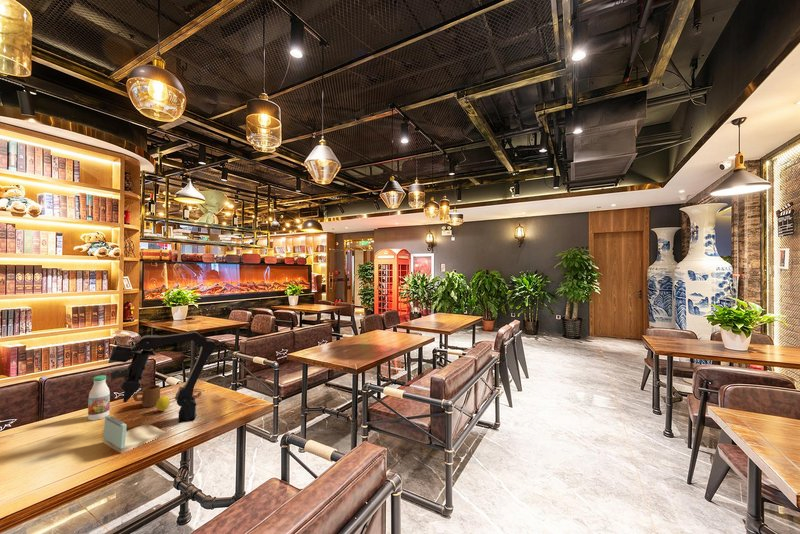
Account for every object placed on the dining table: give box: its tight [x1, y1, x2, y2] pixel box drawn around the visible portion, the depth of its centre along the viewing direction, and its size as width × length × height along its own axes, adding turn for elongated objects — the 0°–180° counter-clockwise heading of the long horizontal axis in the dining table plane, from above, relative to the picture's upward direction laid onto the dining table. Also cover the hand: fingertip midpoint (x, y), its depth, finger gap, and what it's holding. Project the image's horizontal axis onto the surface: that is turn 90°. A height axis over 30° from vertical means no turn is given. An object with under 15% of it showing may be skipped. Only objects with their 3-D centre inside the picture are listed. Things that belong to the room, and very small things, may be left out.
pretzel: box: [192, 388, 202, 399], centre depth 183 cm, size 12×11×4 cm
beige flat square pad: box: [102, 423, 167, 454], centre depth 137 cm, size 16×16×2 cm
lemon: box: [155, 395, 171, 412], centre depth 164 cm, size 6×6×8 cm
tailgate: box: [103, 415, 128, 449], centre depth 131 cm, size 2×16×9 cm, turn 62°
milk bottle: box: [87, 374, 111, 421], centre depth 156 cm, size 8×8×20 cm
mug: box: [132, 384, 161, 408], centre depth 169 cm, size 12×8×9 cm, turn 154°
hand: (125, 398), depth 142 cm, fingers open, 9 cm apart
